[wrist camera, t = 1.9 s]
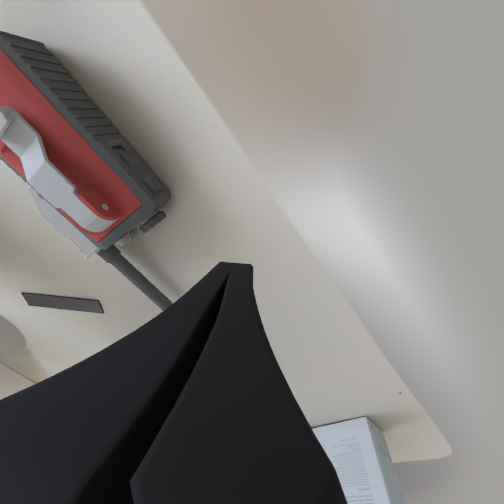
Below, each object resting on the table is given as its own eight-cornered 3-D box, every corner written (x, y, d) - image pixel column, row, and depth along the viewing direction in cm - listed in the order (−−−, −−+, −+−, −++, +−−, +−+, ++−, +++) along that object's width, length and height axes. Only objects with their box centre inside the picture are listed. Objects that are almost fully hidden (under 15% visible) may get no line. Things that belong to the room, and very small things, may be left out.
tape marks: (104, 312, 25) (103, 313, 25) (29, 304, 26) (29, 305, 26) (-56, -50, 12) (-58, -51, 12) (-196, -41, 13) (-199, -42, 13)
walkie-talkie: (-35, 114, 16) (169, 303, 23) (-133, 115, 12) (146, 340, 19) (18, 6, 13) (238, 266, 20) (-94, -39, 9) (226, 302, 16)
